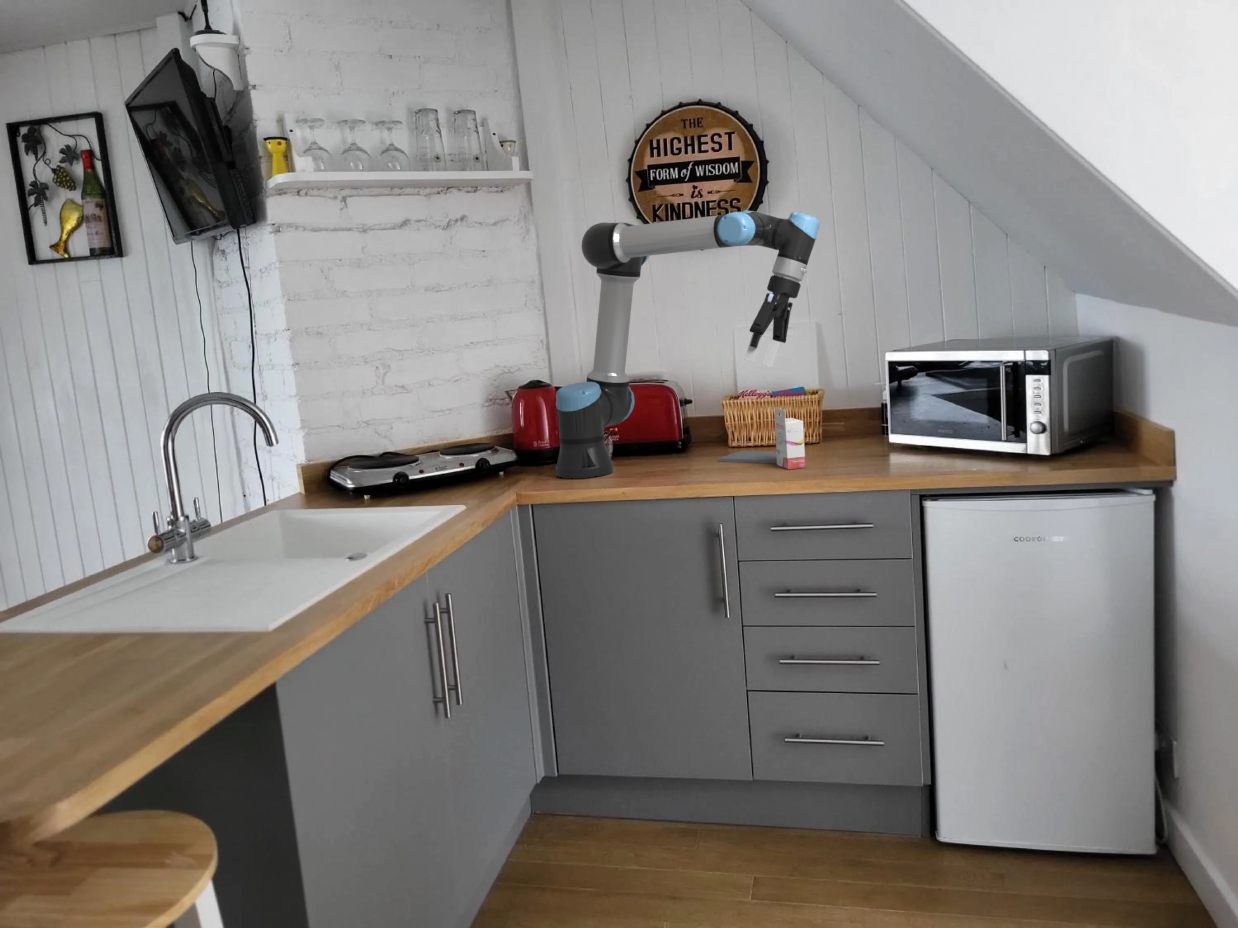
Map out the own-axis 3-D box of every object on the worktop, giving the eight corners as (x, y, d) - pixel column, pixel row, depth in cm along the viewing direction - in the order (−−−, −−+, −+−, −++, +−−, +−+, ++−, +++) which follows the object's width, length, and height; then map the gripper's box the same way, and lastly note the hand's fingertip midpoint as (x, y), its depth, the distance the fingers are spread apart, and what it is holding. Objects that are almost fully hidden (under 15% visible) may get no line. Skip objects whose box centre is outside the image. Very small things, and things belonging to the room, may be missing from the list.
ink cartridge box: (806, 467, 261) (803, 408, 258) (787, 470, 260) (784, 410, 257) (794, 462, 269) (791, 405, 267) (776, 465, 268) (772, 407, 266)
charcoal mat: (718, 461, 280) (718, 458, 280) (741, 453, 290) (740, 450, 290) (779, 463, 270) (779, 460, 270) (800, 455, 279) (800, 452, 279)
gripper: (785, 274, 241) (757, 363, 244) (815, 290, 264) (788, 372, 267) (755, 266, 244) (727, 354, 247) (787, 283, 267) (761, 363, 270)
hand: (759, 363), depth 257 cm, fingers open, 13 cm apart
